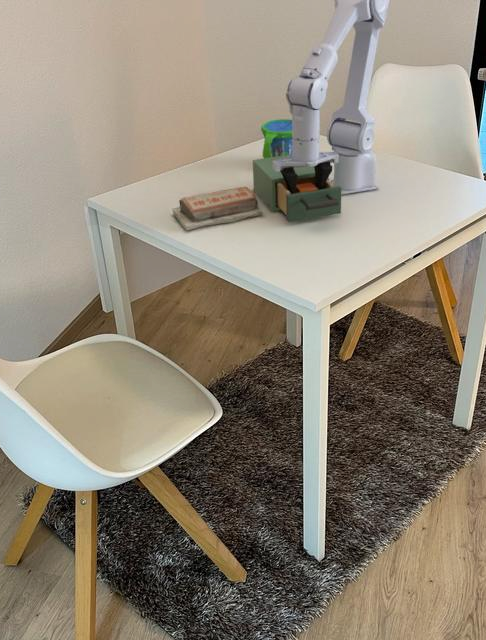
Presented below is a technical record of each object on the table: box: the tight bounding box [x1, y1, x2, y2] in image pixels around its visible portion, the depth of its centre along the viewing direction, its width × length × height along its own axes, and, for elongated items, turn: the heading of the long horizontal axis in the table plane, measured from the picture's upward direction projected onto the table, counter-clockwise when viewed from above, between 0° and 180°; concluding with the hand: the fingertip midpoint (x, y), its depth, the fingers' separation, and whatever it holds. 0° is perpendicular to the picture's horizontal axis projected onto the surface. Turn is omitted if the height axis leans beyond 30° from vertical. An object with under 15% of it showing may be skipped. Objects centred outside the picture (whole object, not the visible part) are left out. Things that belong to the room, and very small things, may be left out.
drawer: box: [275, 176, 342, 223], centre depth 160 cm, size 17×12×6 cm
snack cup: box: [260, 118, 293, 159], centre depth 186 cm, size 16×10×10 cm
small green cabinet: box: [252, 154, 330, 213], centre depth 169 cm, size 14×14×8 cm
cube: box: [296, 183, 318, 193], centre depth 161 cm, size 4×4×4 cm
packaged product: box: [171, 186, 263, 231], centre depth 161 cm, size 18×5×10 cm
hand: (305, 197), depth 161 cm, fingers open, 6 cm apart
